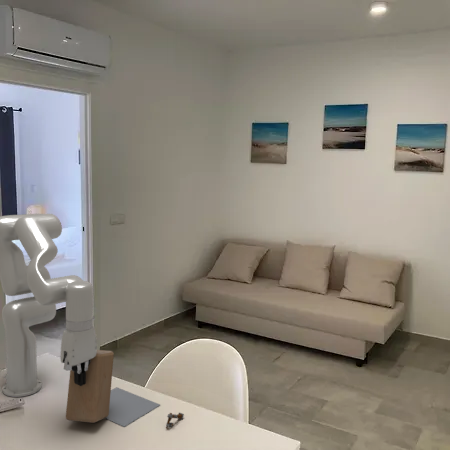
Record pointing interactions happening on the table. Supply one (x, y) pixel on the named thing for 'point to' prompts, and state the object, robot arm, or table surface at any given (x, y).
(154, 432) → the table surface
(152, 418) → the table surface
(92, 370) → the wooden block
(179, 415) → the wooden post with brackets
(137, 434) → the table surface
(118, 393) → the mat
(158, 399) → the table surface
